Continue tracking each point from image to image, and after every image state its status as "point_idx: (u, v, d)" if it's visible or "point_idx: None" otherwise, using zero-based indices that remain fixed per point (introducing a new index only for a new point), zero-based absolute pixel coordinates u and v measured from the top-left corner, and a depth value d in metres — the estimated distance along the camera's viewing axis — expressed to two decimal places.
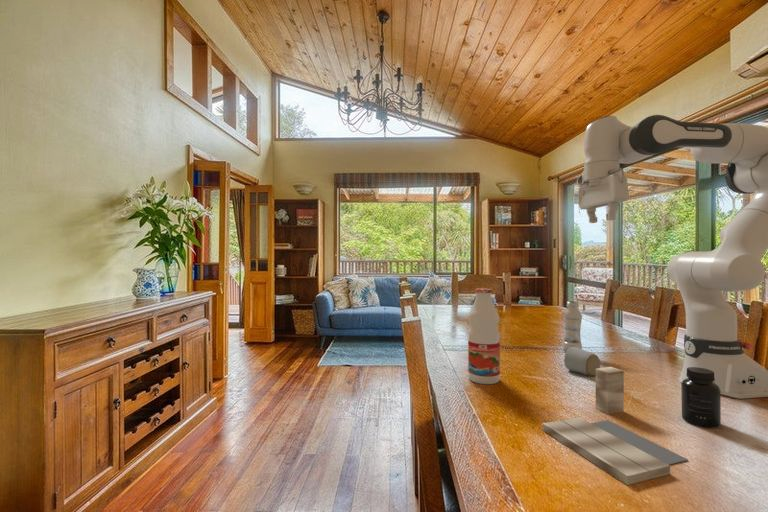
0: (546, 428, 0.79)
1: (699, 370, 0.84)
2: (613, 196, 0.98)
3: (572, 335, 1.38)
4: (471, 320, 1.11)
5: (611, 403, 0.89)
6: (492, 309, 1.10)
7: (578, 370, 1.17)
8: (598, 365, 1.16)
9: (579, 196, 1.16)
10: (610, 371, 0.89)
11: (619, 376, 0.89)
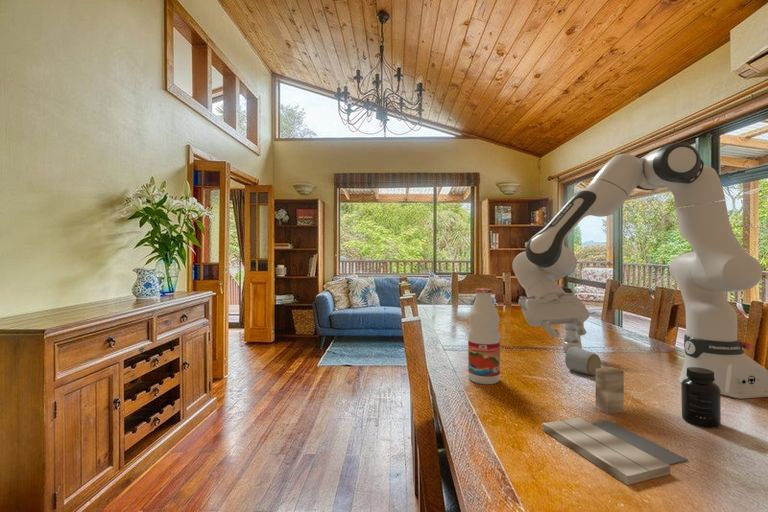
0: (546, 428, 0.79)
1: (699, 370, 0.84)
2: None
3: (572, 335, 1.38)
4: (471, 320, 1.11)
5: (611, 403, 0.89)
6: (492, 309, 1.10)
7: (579, 370, 1.17)
8: (599, 365, 1.16)
9: None
10: (610, 371, 0.89)
11: (619, 376, 0.89)
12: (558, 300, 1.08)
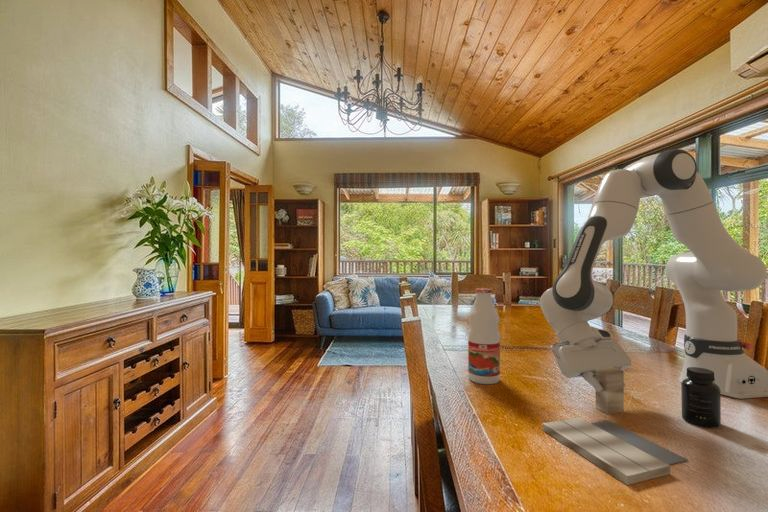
0: (546, 428, 0.79)
1: (699, 370, 0.84)
2: None
3: None
4: (471, 320, 1.11)
5: (611, 403, 0.89)
6: (492, 309, 1.10)
7: None
8: None
9: None
10: (610, 371, 0.89)
11: (619, 376, 0.89)
12: (595, 346, 0.96)
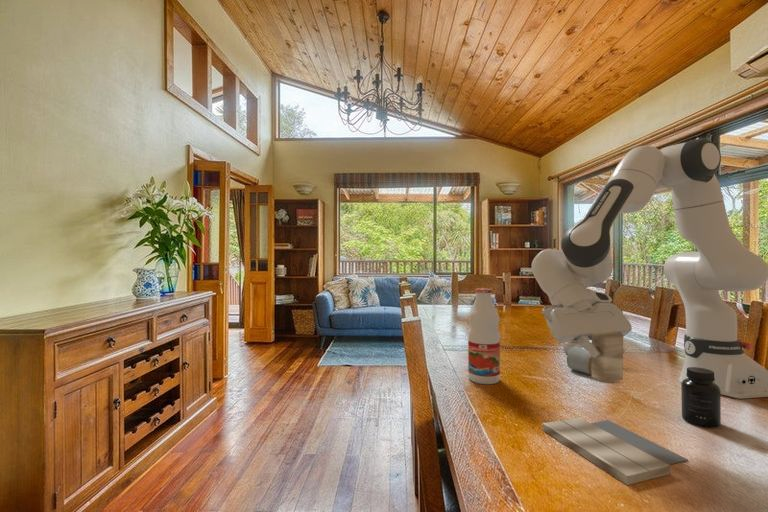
0: (546, 428, 0.79)
1: (699, 370, 0.84)
2: None
3: None
4: (471, 320, 1.11)
5: (609, 370, 0.79)
6: (492, 309, 1.10)
7: (580, 370, 1.17)
8: None
9: None
10: (608, 334, 0.79)
11: (618, 340, 0.79)
12: (592, 309, 0.86)
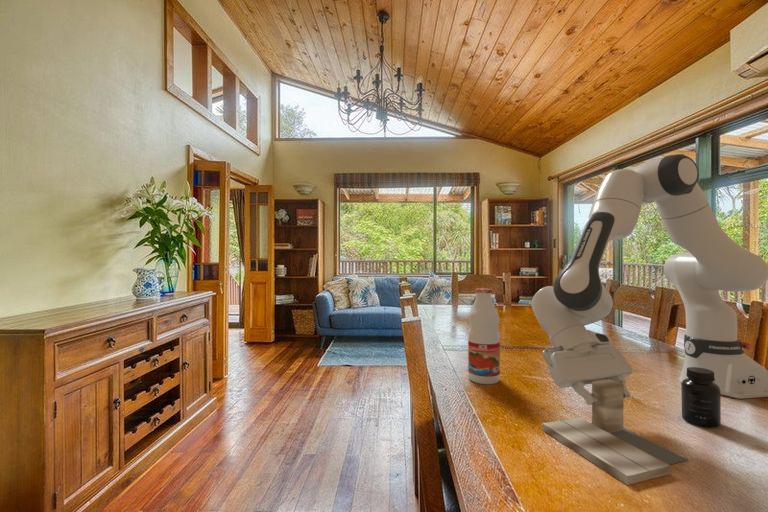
0: (546, 428, 0.79)
1: (699, 370, 0.84)
2: None
3: None
4: (471, 320, 1.11)
5: (609, 421, 0.79)
6: (492, 309, 1.10)
7: None
8: None
9: None
10: (608, 385, 0.80)
11: (618, 390, 0.80)
12: (592, 352, 0.86)
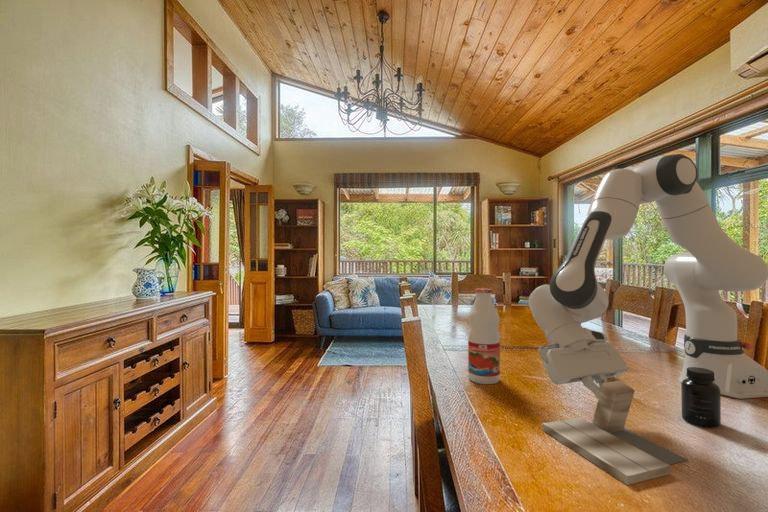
0: (546, 428, 0.79)
1: (699, 370, 0.84)
2: None
3: None
4: (471, 320, 1.11)
5: (612, 422, 0.78)
6: (492, 309, 1.10)
7: None
8: None
9: None
10: (619, 390, 0.77)
11: (628, 395, 0.77)
12: (588, 349, 0.87)
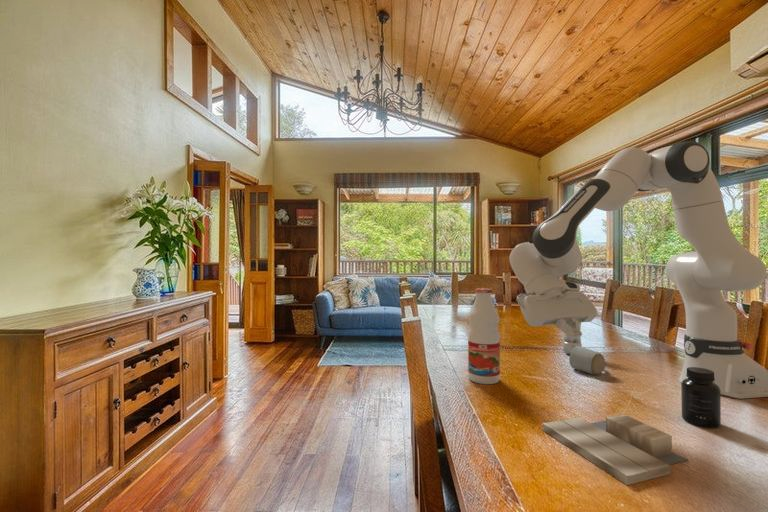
0: (546, 428, 0.79)
1: (699, 370, 0.84)
2: None
3: None
4: (471, 320, 1.11)
5: None
6: (492, 309, 1.10)
7: (583, 369, 1.17)
8: (603, 364, 1.17)
9: None
10: (658, 453, 0.69)
11: None
12: (561, 296, 0.95)
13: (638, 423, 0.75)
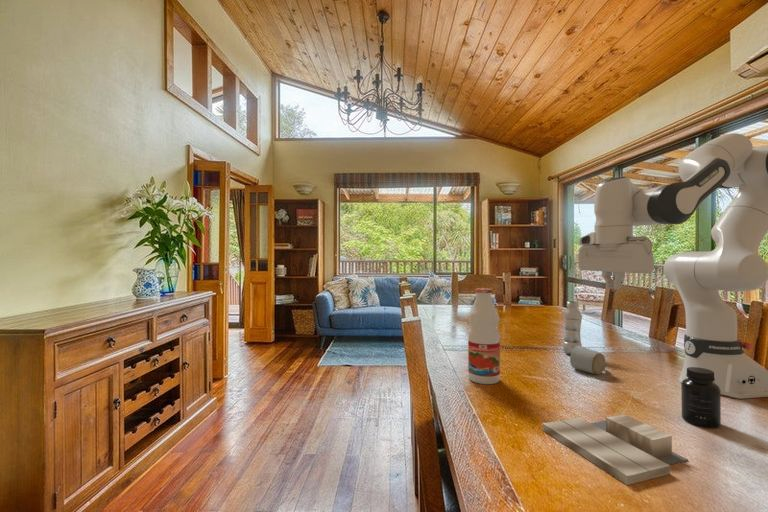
0: (546, 428, 0.79)
1: (699, 370, 0.84)
2: (641, 268, 0.90)
3: (572, 335, 1.38)
4: (471, 320, 1.11)
5: None
6: (492, 309, 1.10)
7: (584, 369, 1.18)
8: (604, 364, 1.17)
9: (580, 256, 1.07)
10: (658, 453, 0.69)
11: None
12: None
13: (638, 423, 0.75)
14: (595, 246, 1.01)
